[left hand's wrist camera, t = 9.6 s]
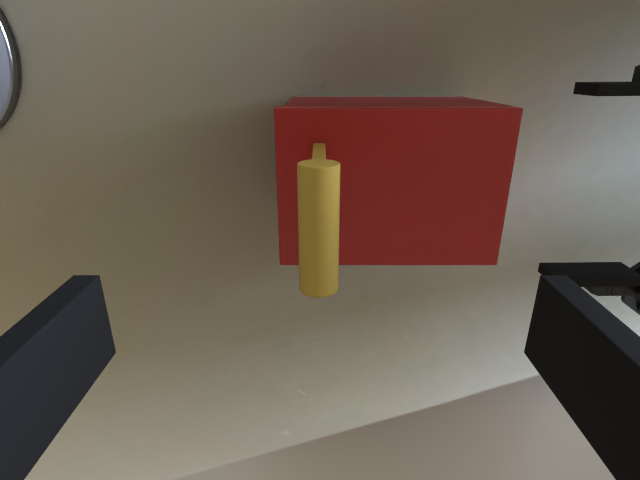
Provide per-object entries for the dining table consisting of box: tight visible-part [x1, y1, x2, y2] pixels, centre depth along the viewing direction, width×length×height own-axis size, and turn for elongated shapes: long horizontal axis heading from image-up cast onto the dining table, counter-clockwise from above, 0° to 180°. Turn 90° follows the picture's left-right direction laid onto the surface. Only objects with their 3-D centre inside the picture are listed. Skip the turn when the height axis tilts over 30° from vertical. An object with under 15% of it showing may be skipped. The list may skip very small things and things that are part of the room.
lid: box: [274, 106, 523, 298], centre depth 23 cm, size 14×10×9 cm
